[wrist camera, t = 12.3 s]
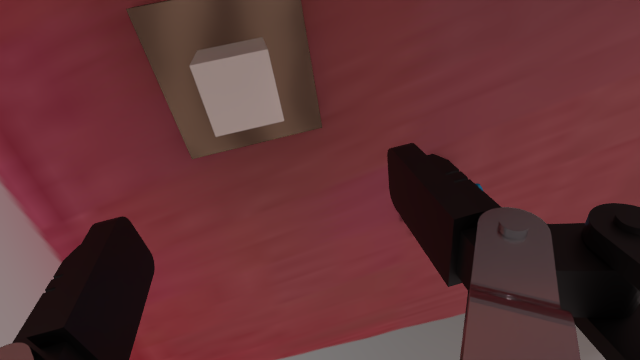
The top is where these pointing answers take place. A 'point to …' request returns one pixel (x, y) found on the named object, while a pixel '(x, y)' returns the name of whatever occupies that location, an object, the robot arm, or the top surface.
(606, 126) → the top surface
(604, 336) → the robot arm
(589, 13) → the top surface
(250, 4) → the board
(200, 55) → the pale grey cube block
